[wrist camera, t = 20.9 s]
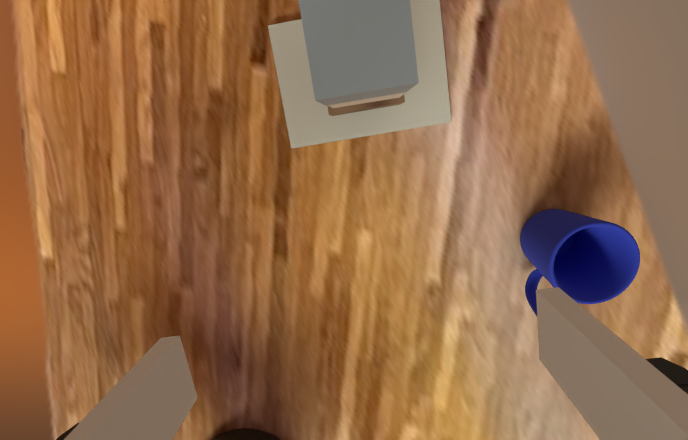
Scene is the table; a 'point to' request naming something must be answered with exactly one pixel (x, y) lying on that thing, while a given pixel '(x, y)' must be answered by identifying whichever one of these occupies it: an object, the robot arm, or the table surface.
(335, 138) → the plate
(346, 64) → the brick
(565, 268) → the mug
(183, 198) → the table surface
